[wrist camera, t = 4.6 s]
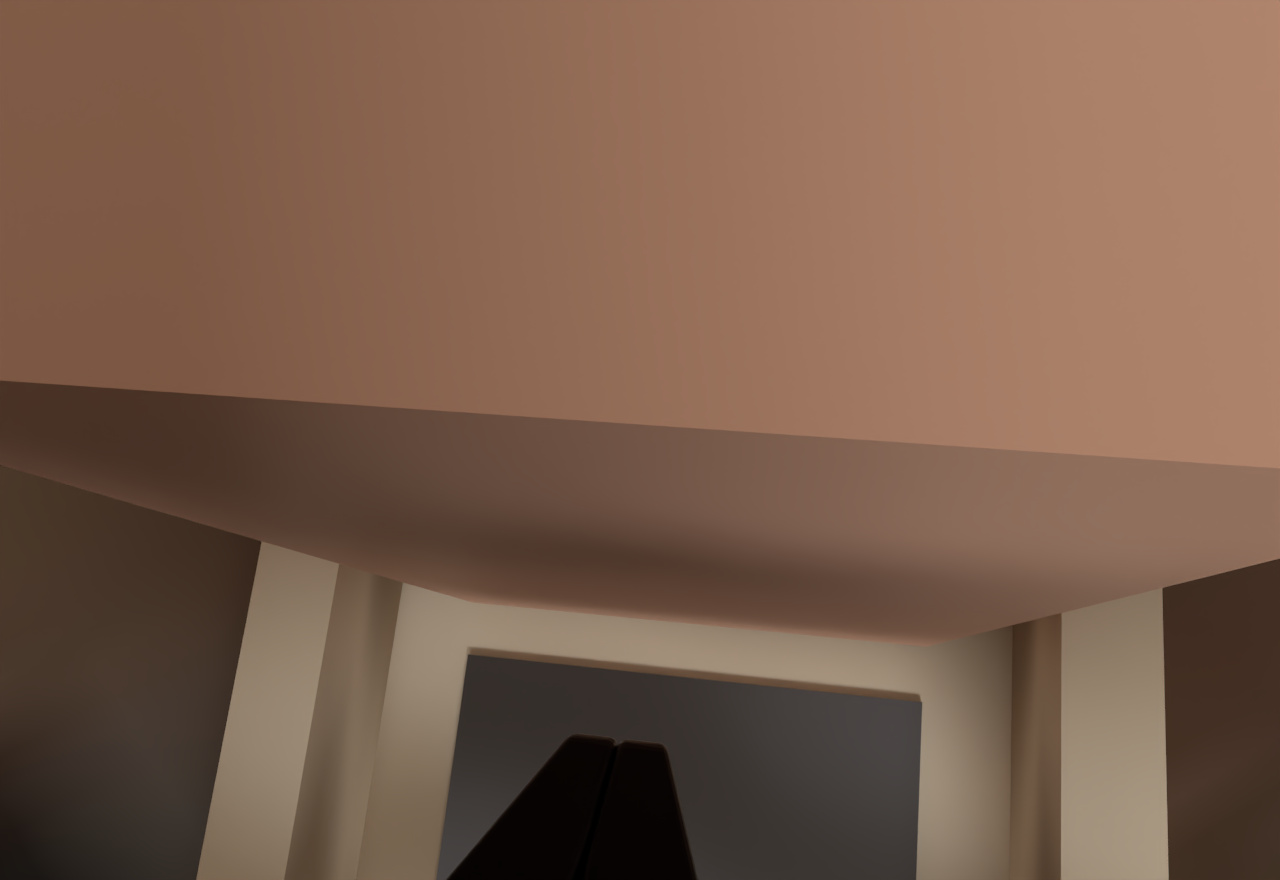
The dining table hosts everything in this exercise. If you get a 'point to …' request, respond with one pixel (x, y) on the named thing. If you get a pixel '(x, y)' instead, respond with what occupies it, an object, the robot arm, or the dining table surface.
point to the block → (661, 294)
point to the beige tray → (686, 736)
